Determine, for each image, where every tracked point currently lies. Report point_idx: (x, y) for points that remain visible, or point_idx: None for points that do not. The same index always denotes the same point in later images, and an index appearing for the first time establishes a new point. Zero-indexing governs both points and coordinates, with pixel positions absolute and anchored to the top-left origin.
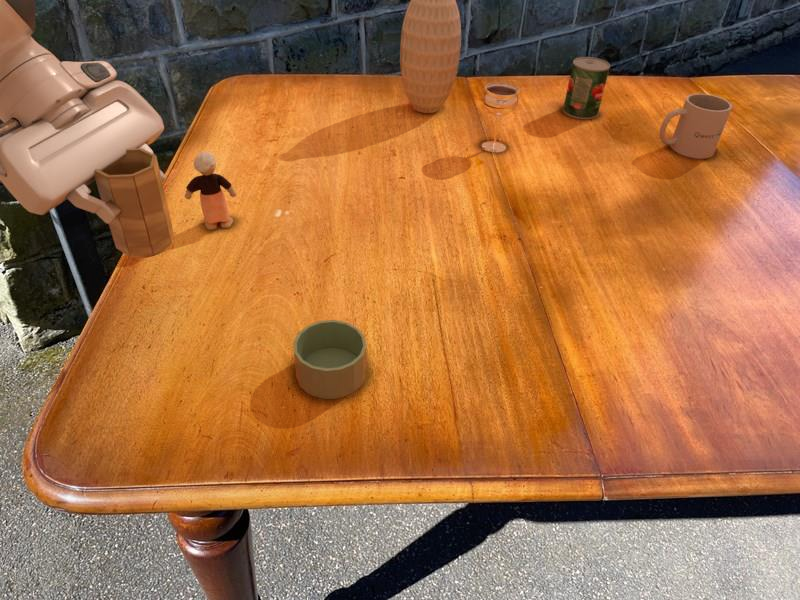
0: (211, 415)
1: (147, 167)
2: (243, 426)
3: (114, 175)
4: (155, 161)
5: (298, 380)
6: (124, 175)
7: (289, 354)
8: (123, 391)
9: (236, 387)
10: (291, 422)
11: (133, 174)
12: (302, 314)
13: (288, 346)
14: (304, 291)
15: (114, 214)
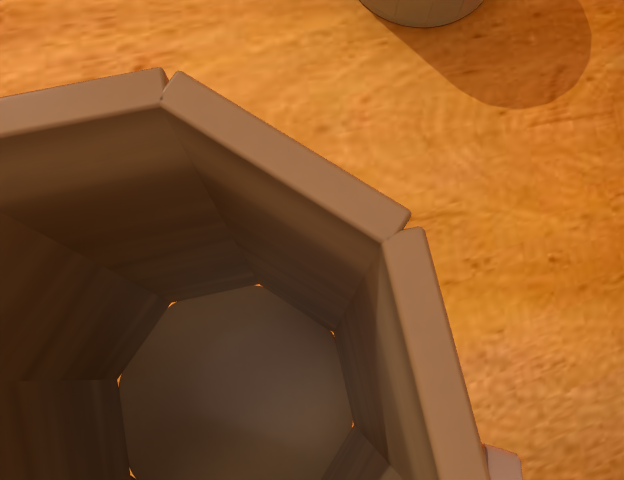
0: (582, 180)
1: (200, 119)
2: (599, 107)
3: (455, 454)
4: (12, 105)
5: (467, 9)
6: (432, 322)
7: (370, 52)
8: (546, 412)
9: (491, 146)
10: (570, 16)
11: (395, 219)
12: (224, 44)
13: (343, 58)
14: (131, 53)
15: (490, 451)
